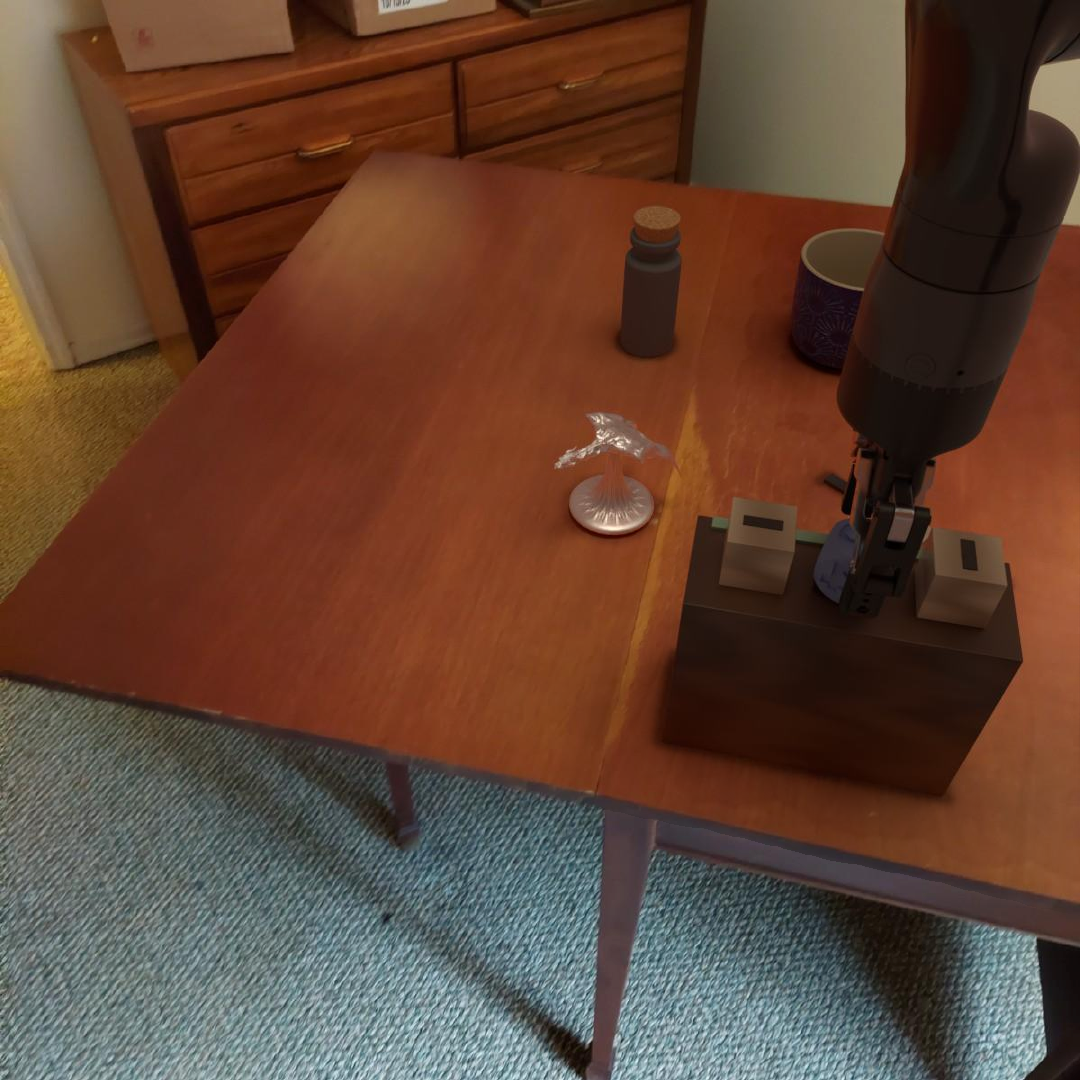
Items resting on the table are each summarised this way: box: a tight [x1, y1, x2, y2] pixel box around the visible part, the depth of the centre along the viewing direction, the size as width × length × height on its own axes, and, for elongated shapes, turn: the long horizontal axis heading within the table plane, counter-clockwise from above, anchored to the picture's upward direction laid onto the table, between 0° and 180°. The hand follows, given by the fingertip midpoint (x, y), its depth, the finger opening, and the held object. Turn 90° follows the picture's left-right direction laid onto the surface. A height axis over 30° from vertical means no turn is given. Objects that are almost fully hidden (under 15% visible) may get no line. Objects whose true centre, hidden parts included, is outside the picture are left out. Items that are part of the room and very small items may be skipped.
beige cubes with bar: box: [823, 473, 933, 548], centre depth 83 cm, size 18×7×4 cm, turn 42°
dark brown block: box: [661, 496, 1024, 797], centre depth 64 cm, size 20×8×20 cm, turn 77°
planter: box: [790, 227, 885, 370], centre depth 101 cm, size 12×12×11 cm
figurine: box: [553, 411, 683, 536], centre depth 84 cm, size 8×12×10 cm, turn 126°
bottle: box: [619, 205, 683, 359], centre depth 100 cm, size 6×6×15 cm
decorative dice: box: [813, 517, 856, 603], centre depth 59 cm, size 4×4×4 cm
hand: (856, 559), depth 59 cm, fingers open, 8 cm apart
